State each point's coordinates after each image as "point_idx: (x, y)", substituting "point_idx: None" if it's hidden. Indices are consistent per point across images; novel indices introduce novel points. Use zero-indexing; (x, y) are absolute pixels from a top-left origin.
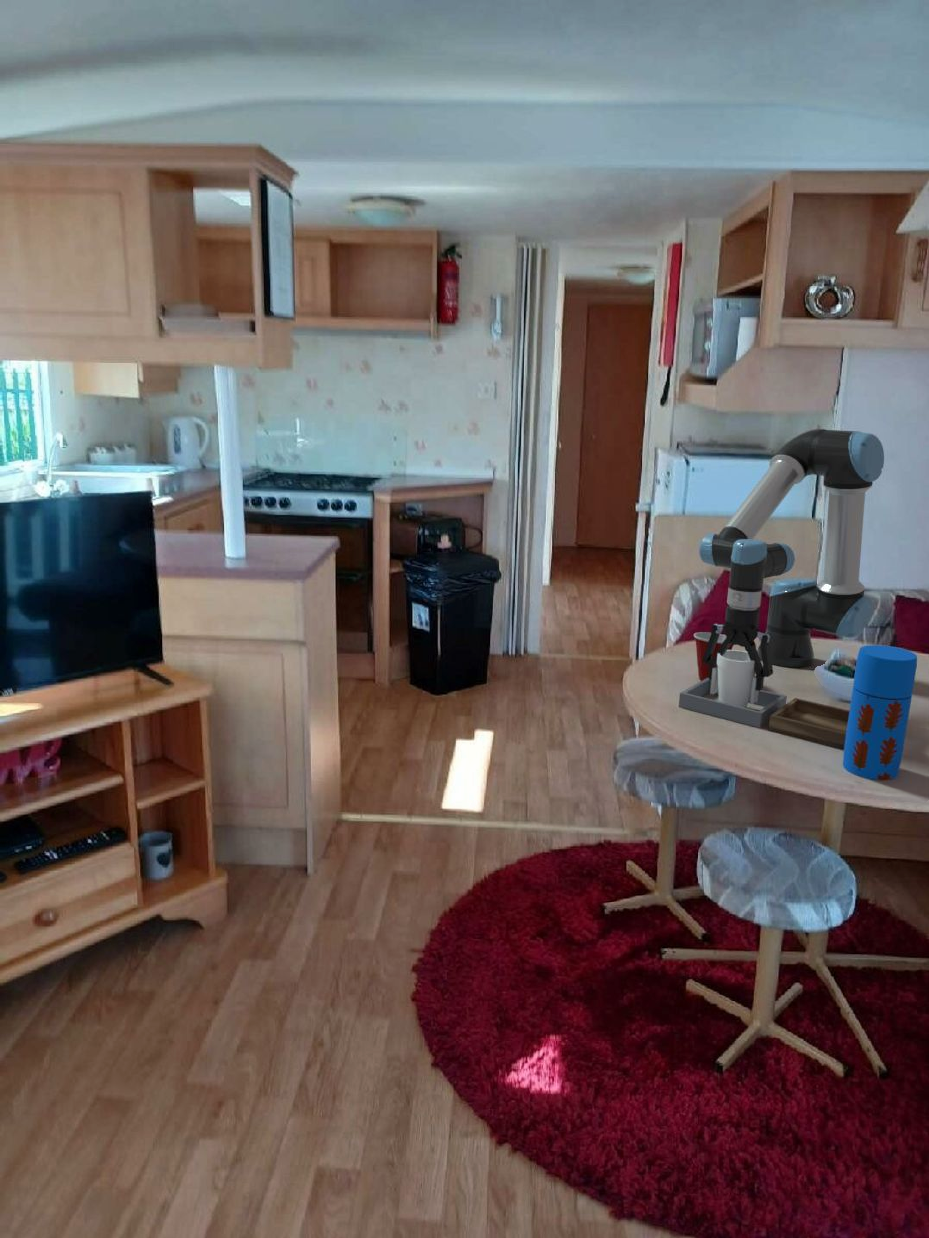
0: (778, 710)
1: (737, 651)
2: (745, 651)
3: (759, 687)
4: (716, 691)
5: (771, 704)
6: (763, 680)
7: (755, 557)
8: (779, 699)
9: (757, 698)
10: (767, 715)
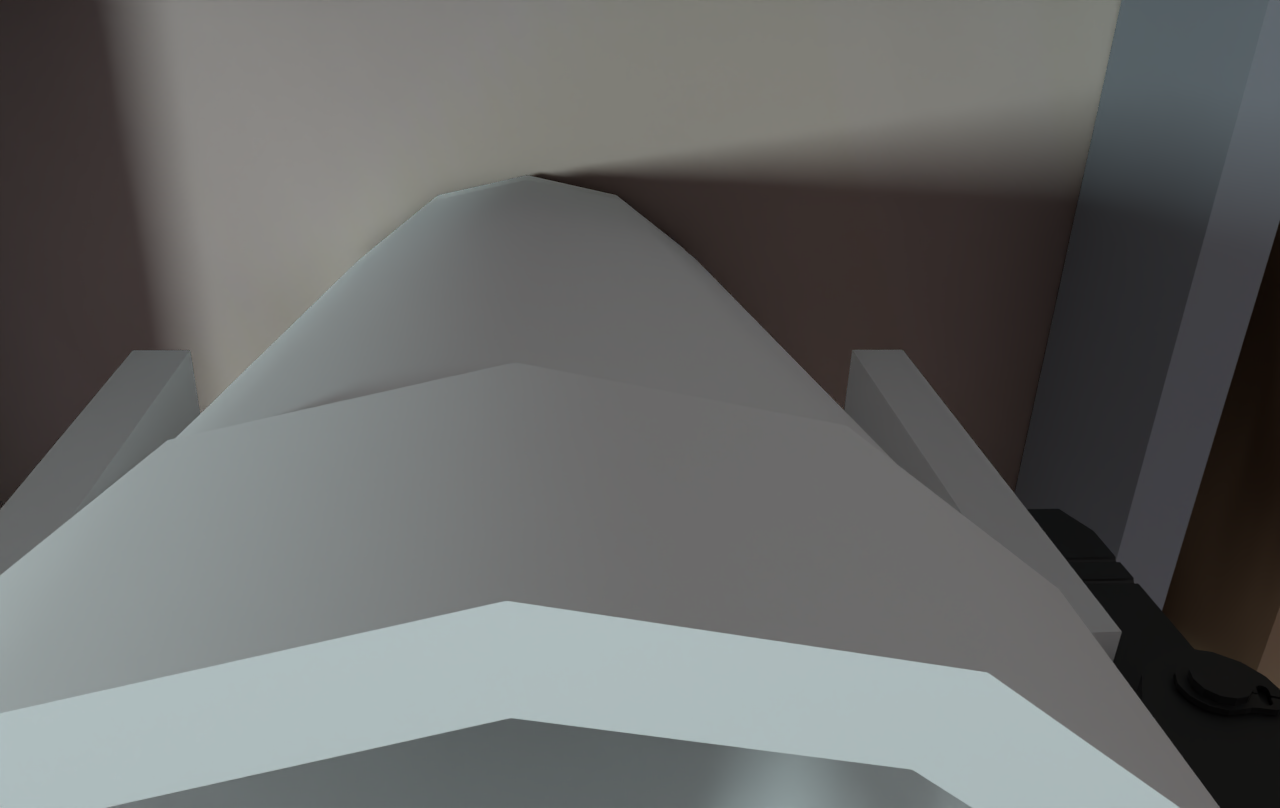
0: (1277, 644)
1: (140, 770)
2: (518, 635)
3: None
4: (191, 402)
5: (1164, 496)
6: (1171, 642)
7: None
8: (1262, 180)
9: (917, 379)
10: None
